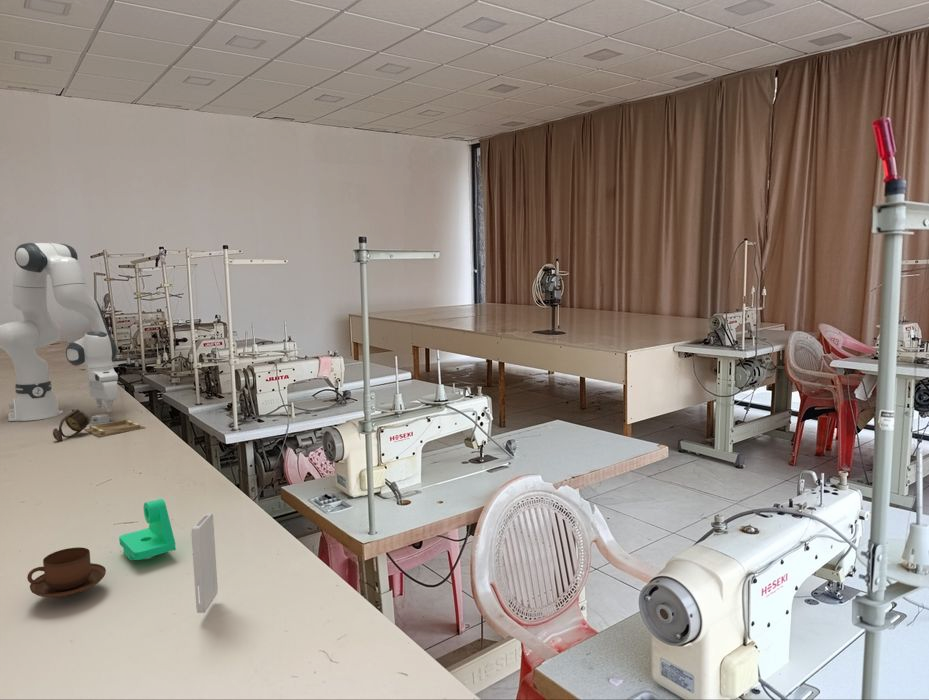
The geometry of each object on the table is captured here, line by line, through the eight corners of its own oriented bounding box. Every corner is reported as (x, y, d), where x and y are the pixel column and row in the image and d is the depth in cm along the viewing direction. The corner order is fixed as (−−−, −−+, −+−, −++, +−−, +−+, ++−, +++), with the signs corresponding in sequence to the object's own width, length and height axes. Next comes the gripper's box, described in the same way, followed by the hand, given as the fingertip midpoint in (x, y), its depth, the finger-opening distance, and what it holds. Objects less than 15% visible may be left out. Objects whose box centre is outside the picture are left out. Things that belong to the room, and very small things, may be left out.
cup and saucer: (52, 610, 113) (49, 576, 112) (17, 593, 119) (14, 561, 118) (119, 581, 123) (117, 550, 122) (84, 567, 129) (81, 537, 128)
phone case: (210, 593, 118) (205, 512, 116) (218, 592, 118) (213, 512, 116) (196, 614, 111) (190, 529, 109) (204, 614, 111) (198, 528, 109)
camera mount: (118, 547, 138) (114, 500, 137) (157, 537, 143) (153, 492, 142) (136, 566, 130) (132, 516, 128) (176, 554, 135) (172, 506, 133)
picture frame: (84, 432, 240) (84, 426, 240) (130, 424, 251) (130, 418, 251) (98, 438, 230) (98, 432, 229) (146, 430, 241) (145, 424, 241)
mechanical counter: (95, 433, 237) (93, 406, 236) (71, 443, 224) (68, 414, 223) (76, 433, 238) (74, 406, 236) (51, 442, 225) (48, 414, 224)
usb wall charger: (92, 426, 249) (91, 416, 248) (107, 422, 255) (106, 412, 255) (99, 427, 247) (98, 416, 247) (115, 423, 254) (114, 413, 253)
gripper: (82, 373, 254) (86, 408, 256) (101, 377, 240) (105, 414, 242) (100, 371, 258) (104, 405, 260) (119, 375, 244) (123, 411, 246)
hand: (104, 410), depth 251 cm, fingers open, 8 cm apart
